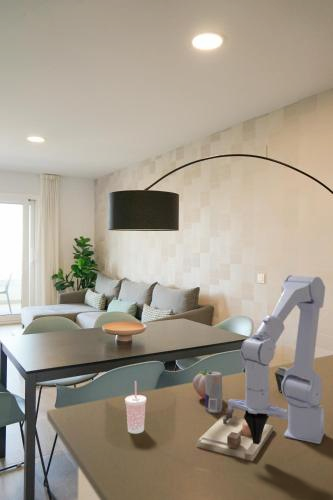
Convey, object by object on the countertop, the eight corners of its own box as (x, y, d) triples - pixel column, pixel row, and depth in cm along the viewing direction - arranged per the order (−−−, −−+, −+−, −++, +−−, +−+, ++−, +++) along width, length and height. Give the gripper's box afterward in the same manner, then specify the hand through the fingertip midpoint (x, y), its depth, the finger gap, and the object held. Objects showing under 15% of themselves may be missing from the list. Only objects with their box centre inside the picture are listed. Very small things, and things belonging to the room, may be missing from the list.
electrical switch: (304, 397, 143) (303, 371, 142) (294, 401, 140) (292, 375, 140) (284, 389, 151) (282, 364, 151) (274, 393, 148) (272, 368, 148)
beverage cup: (137, 423, 122) (136, 376, 122) (150, 430, 117) (150, 381, 117) (120, 429, 118) (120, 381, 117) (134, 436, 113) (134, 386, 113)
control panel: (273, 430, 117) (273, 420, 117) (252, 461, 100) (252, 449, 100) (223, 420, 124) (223, 410, 124) (196, 446, 107) (196, 436, 107)
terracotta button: (257, 433, 113) (257, 422, 113) (253, 438, 109) (253, 427, 109) (244, 430, 114) (244, 419, 114) (240, 435, 111) (240, 424, 111)
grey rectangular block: (230, 417, 121) (234, 409, 121) (227, 420, 119) (230, 413, 118) (228, 415, 122) (232, 408, 121) (224, 419, 119) (228, 411, 119)
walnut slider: (240, 443, 105) (240, 434, 105) (236, 448, 103) (236, 438, 103) (231, 441, 106) (231, 431, 106) (227, 446, 104) (227, 436, 104)
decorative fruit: (224, 400, 140) (224, 371, 140) (206, 405, 135) (206, 375, 135) (207, 392, 148) (207, 364, 148) (188, 397, 143) (188, 368, 143)
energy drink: (211, 405, 135) (211, 369, 135) (225, 409, 132) (225, 372, 132) (202, 410, 131) (202, 373, 131) (216, 415, 128) (216, 376, 128)
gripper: (223, 387, 102) (223, 442, 102) (282, 397, 95) (282, 456, 95) (233, 379, 108) (233, 431, 108) (289, 388, 101) (289, 444, 101)
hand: (256, 442), depth 102 cm, fingers closed
